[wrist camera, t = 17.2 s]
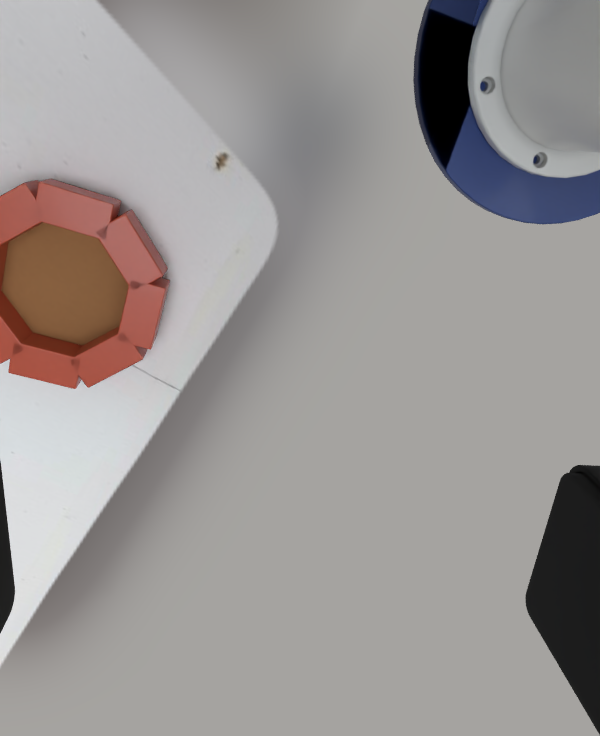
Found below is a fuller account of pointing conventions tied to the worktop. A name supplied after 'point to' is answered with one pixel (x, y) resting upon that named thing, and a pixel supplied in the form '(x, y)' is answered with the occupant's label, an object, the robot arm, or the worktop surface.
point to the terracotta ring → (128, 252)
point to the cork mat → (63, 284)
